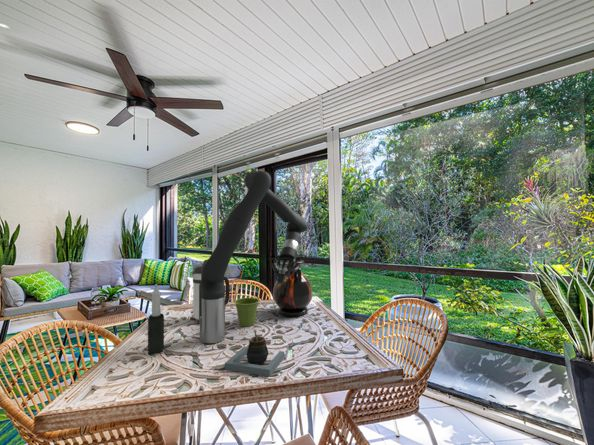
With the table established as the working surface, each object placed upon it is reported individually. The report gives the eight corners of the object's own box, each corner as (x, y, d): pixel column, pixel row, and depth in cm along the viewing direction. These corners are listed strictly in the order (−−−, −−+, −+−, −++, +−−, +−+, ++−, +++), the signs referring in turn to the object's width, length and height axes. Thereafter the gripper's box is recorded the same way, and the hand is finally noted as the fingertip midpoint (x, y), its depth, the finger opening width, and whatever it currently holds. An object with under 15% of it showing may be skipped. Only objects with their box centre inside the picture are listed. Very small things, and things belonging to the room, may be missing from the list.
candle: (149, 349, 106) (149, 283, 107) (164, 347, 108) (164, 282, 109) (147, 355, 101) (147, 285, 102) (162, 353, 103) (163, 284, 104)
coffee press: (214, 325, 132) (214, 261, 133) (184, 323, 135) (183, 261, 136) (230, 314, 149) (229, 258, 150) (202, 313, 152) (202, 257, 153)
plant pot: (229, 327, 129) (229, 303, 129) (241, 319, 140) (240, 297, 141) (253, 329, 126) (253, 304, 126) (263, 321, 138) (263, 298, 138)
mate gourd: (251, 370, 90) (251, 338, 90) (243, 361, 97) (242, 331, 97) (271, 364, 94) (271, 333, 94) (262, 355, 100) (261, 327, 101)
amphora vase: (267, 309, 157) (267, 259, 158) (302, 305, 166) (301, 257, 167) (281, 321, 137) (281, 264, 138) (320, 315, 146) (319, 261, 147)
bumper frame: (224, 369, 91) (224, 362, 91) (244, 352, 103) (244, 346, 103) (269, 376, 86) (269, 369, 86) (284, 357, 99) (284, 351, 99)
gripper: (274, 245, 129) (262, 276, 117) (301, 246, 125) (292, 278, 113) (278, 256, 133) (267, 287, 121) (304, 257, 129) (296, 289, 117)
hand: (279, 282), depth 117 cm, fingers closed
